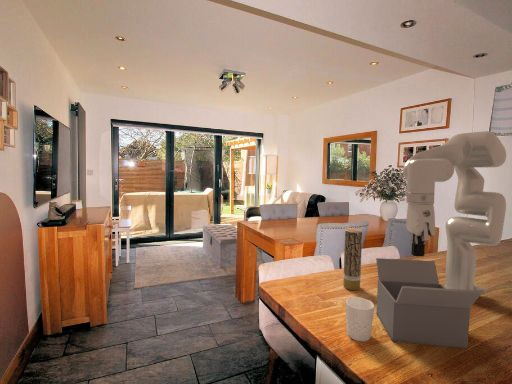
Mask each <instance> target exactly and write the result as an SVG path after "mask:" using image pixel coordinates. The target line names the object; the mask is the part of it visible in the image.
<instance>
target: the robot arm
mask: <svg viewBox="0 0 512 384" xmlns="http://www.w3.org/2000/svg"><path fill="white" fill-rule="evenodd" d="M506 159H507V150H506V148H505V146H504V144H503V143H502V141H501V140H500V138H499V137H498V135H496V134H495V133H493V132H491V131H487V130H486V131H485V130H484V131H474V132H472V131H471V132H462V133H458V134H455V135H454V136H452V137H450V138H449V139H448V140H447V141H446V142H444V143H443V144H441V145H439V146H435V147H433V148H429V149H426V150H423V151H420V152H418V153H417V152H416V153H415V154H414V155H412V156H411V157H410V158H409V159H407V161H406V162H405V163H404V165H403V169H402V172H403V173H402V174H403V176H404V178H405V179H406V180H407V181H406V204H407V208H406V222H405V223H406V230H407V231H408V232H409V234H410V235H411V236H410V237H411V252H410V253H411V255H412V256H413V257H425V248H426V247H425V245H426V242H428V241H429V237H432V238H433V237H435V235H436V215H435V214H436V213H435V207H434V205H435V189H436V188H435V187H436V183H442V182H447V181H449V180H451V178H452V177H453V175H454V173H455V172H456V175H457V186H456V193H455V198H454V210H455V211H456V212H457V213H459V214H463V215H470V216H478V217H486V218H487V219H482V218H475V217H466V216H452V217H450V218H448V219H447V221H446V222H445V234H446V257H445V258H446V261H445V277H444V285H443V286H444V287H445V288H446V289H460V290H476V291H481V293H485V294H486V293H488V292H489V289H488V288H487V287H481V286H479V285H475V278H476V277H475V276H476V262H477V252H476V249H474V246H473V245H472V244H478V245H485V246H491V247H492V246H493V247H494V246H495V247H496V246H498V245H499V244H500V242H501V240H502V238H503V233H504V232H503V230H504V224H505V220H506V219H505V217H506V211H507V202H506V201H507V200H506V197H505V195H503V194H502V193H500V192H495V191H494V192H493V191H484V187H485V178H484V176H483V175H482V174H481V173H480V172H479V170H477V169H476V168H499V167H501V166H503V165H504V164H505V162H506ZM478 299H479V297H478V298H477V300H478Z"/></svg>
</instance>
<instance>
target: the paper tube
mask: <svg viewBox="0 0 512 384" xmlns="http://www.w3.org/2000/svg"><path fill="white" fill-rule="evenodd" d="M362 245H363V229H361V228H357V227H346V228H345V229H344V248H343V249H344V252H343V253H344V255H343V257H344V258H343V279H342V280H343V287H344V288H345V289H347V290H351V291H357V290H359V289H360V288H361V275H362V273H361V269H362V250H363V249H362Z"/></svg>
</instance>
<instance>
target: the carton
mask: <svg viewBox="0 0 512 384" xmlns="http://www.w3.org/2000/svg"><path fill="white" fill-rule="evenodd" d="M402 286H411V287H427V288H443V289H446V288H445V287H444V285H443V284H440V283H439V284H430V283H413V282H397V281H380V280H377V290H376V291H377V292H376V317H377V318H378V320H379V321H380V322H381V324H382V325H381V326H383V328H384V329H385V332H386V333H387V335H388V336H389V339H390V340H391V342H394V343H402V344H403V343H404V344H414V345H426V346H438V347H447V348H450V347H451V348H459V349H460V348H462V349H468V348H469V347H468V344H469V329H470V319H471V318H470V315H471V308H470V309H467V308H453V307H439V306H424V305H410V304H396V300H397V298H398V295H399V293H400V290H401V288H402Z"/></svg>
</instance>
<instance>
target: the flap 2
mask: <svg viewBox="0 0 512 384" xmlns="http://www.w3.org/2000/svg"><path fill="white" fill-rule="evenodd" d="M481 294H482V292H481V291H476V290H460V289H443V288H427V287H411V286H402V288H401V290H400V293H399V295H398V298H397V300H396V304H410V305H424V306H439V307H453V308H467V309H470V310H471V308H472V306H473V305H474V303H475V302H476V301H477V300H478V299H479V297H480V295H481ZM477 298H478V299H477Z"/></svg>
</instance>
